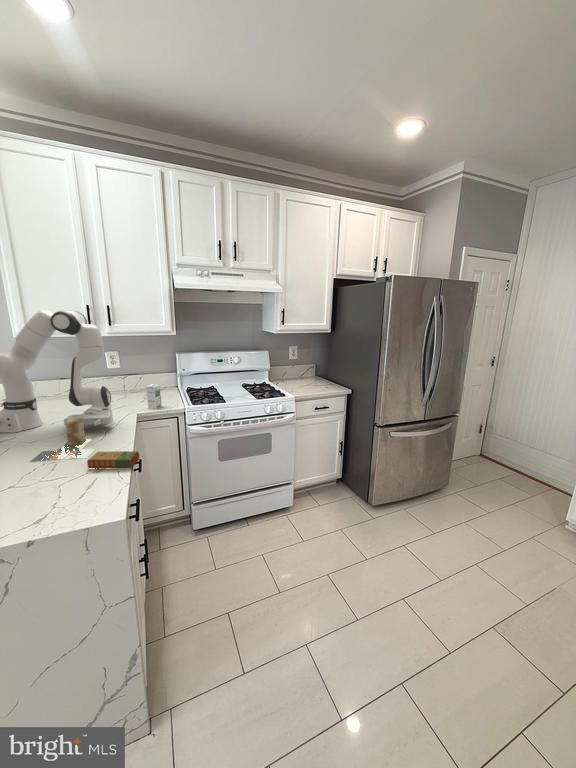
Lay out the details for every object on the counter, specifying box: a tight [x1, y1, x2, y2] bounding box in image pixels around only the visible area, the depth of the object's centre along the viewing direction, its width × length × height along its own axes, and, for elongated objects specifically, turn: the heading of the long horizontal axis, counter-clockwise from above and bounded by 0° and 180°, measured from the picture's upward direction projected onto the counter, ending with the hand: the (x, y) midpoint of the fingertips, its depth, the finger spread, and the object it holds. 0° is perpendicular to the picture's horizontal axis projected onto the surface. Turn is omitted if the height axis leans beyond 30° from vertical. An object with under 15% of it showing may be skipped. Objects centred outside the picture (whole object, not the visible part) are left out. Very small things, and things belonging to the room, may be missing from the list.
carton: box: [86, 450, 140, 470], centre depth 124 cm, size 8×16×4 cm, turn 94°
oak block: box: [64, 418, 86, 446], centre depth 142 cm, size 5×5×11 cm
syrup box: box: [145, 383, 162, 410], centre depth 197 cm, size 6×6×14 cm
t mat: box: [29, 441, 81, 463], centre depth 138 cm, size 21×23×1 cm
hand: (82, 424), depth 149 cm, fingers open, 8 cm apart
